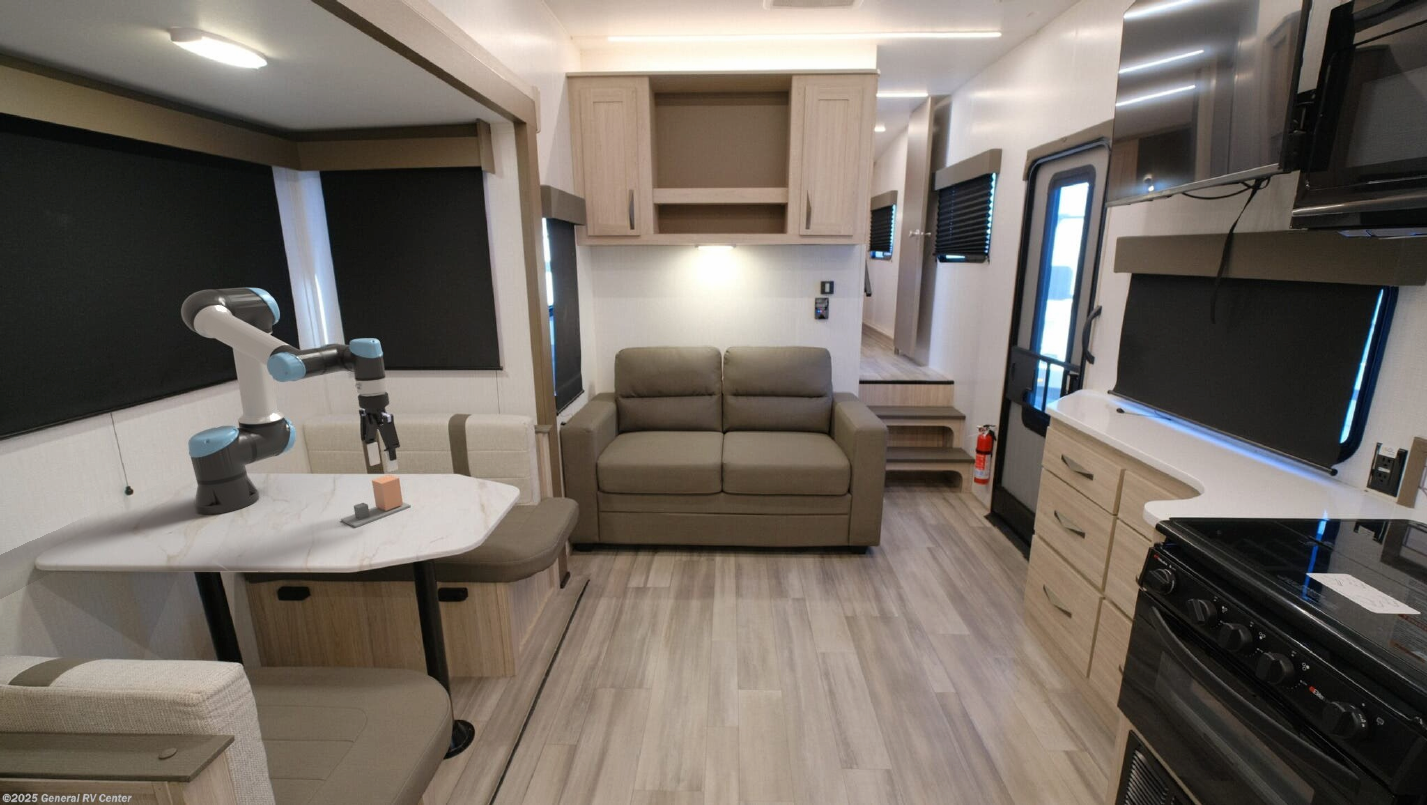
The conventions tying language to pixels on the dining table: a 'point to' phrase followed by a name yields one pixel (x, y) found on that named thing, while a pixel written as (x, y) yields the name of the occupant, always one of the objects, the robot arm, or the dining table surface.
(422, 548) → the dining table surface
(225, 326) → the robot arm
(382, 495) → the orange block
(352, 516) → the stand
